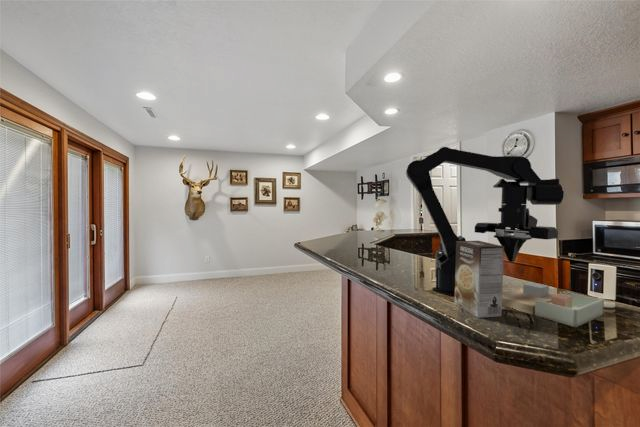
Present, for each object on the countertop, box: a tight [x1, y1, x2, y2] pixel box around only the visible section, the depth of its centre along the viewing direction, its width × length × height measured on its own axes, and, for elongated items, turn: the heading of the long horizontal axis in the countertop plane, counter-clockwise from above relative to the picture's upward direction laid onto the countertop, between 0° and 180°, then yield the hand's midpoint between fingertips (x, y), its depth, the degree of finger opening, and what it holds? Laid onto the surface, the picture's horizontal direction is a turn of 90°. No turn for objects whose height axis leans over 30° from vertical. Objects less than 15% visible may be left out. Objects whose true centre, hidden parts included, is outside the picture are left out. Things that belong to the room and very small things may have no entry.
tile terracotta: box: [552, 293, 572, 309], centre depth 68 cm, size 4×4×2 cm
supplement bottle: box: [434, 241, 444, 278], centre depth 100 cm, size 7×7×12 cm
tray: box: [534, 290, 605, 328], centre depth 68 cm, size 8×14×4 cm, turn 120°
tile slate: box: [522, 281, 550, 298], centre depth 77 cm, size 4×4×2 cm
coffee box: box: [453, 240, 505, 319], centre depth 71 cm, size 9×6×16 cm
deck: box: [502, 287, 554, 315], centre depth 76 cm, size 9×14×2 cm, turn 120°
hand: (511, 261), depth 82 cm, fingers closed
